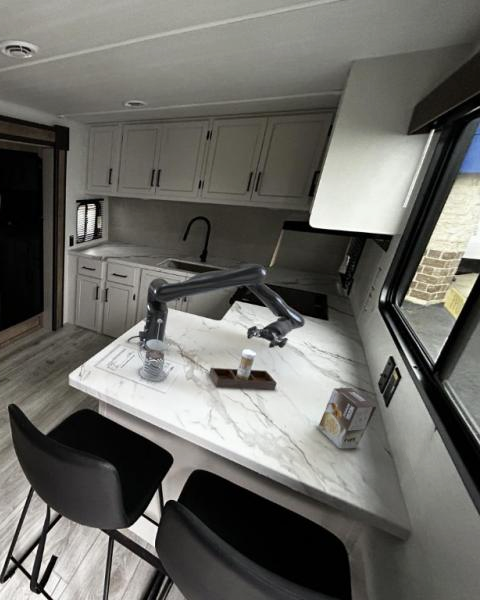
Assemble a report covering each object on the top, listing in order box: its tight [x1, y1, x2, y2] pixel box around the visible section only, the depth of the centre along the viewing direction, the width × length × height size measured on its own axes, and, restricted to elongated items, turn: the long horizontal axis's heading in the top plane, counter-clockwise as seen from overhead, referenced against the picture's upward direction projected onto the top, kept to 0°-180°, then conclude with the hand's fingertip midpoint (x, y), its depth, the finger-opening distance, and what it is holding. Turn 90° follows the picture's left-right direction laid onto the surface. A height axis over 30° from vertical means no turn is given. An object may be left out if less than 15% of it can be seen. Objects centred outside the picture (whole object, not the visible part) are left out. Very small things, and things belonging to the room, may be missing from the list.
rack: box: [208, 367, 278, 391], centre depth 126 cm, size 8×23×4 cm, turn 88°
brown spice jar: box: [236, 348, 257, 380], centre depth 124 cm, size 5×5×13 cm
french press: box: [137, 319, 168, 382], centre depth 126 cm, size 10×12×25 cm
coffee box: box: [317, 387, 377, 450], centre depth 99 cm, size 9×6×16 cm
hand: (259, 341), depth 129 cm, fingers open, 8 cm apart
